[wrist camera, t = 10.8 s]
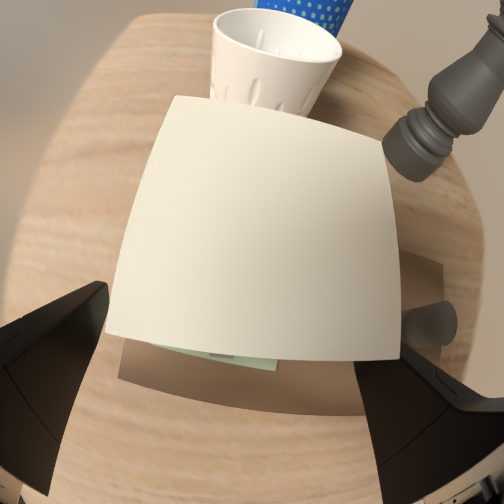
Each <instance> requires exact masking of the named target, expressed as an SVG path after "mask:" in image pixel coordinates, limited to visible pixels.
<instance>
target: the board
mask: <svg viewBox="0 0 504 504" xmlns="http://www.w3.org/2000/svg"><path fill="white" fill-rule="evenodd" d="M398 251H399V264H400V283H401V341H403V342H404V343H405V344H407V345H408V346H410V347H411V348H412V349H414V350H415V351H416V352H418V353H419V354H421V355H422V356H423V357H425V358H426V359H428V360H429V361H430V362H432V363H433V364H434V365H436V366H437V367H439V361H440V352H441V346H445V345H448V344H449V343H451V342H452V340H453V339H454V337H455V334H456V330H457V316H456V312H455V310H454V308H453V306H452V305H451V304H450V303H449V302H447V301H443V265H442V264H439V263H437V262H434V261H431V260H428V259H425V258H422V257H419V256H416V255H413V254H410V253H407V252H404V251H401V250H398ZM118 378H119V379H122V380H125V381H128V382H131V383H134V384H138V385H141V386H144V387H147V388H151V389H154V390H158V391H161V392H165V393H169V394H173V395H177V396H181V397H185V398H189V399H194V400H198V401H203V402H208V403H213V404H218V405H224V406H230V407H236V408H242V409H249V410H257V411H265V412H274V413H285V414H299V415H319V416H362V415H366V414H365V410H364V406H363V402H362V398H361V394H360V390H359V386H358V382H357V379H356V374H355V370H354V364H353V361H305V360H284V359H268V358H255V357H244V356H235V355H234V359H227V358H218V357H210V356H209V352H202V351H195V350H189V349H182V348H176V347H170V346H165V345H159V344H154V343H149V342H144V341H139V340H134V339H129V338H126V339H125V343H124V348H123V353H122V358H121V363H120V368H119V374H118Z"/></svg>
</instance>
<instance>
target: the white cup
mask: <svg viewBox="0 0 504 504" xmlns="http://www.w3.org/2000/svg"><path fill="white" fill-rule="evenodd" d="M342 52H343V51H342V47H341V45H340V43H339V42H338V41H337V39H336V38H335V37H334V36H333V35H331V34H330V33H329V32H328V31H326V30H325V29H323V28H322V27H320V26H318V25H317V24H315V23H313V22H311V21H308V20H306V19H304V18H301V17H298V16H296V15H292V14H289V13H285V12H281V11H276V10H270V9H261V8H243V9H236V10H231V11H227V12H224V13H222V14H220V15H219V16H217V17H216V18H215V20H214V22H213V36H212V54H211V73H210V87H211V89H210V99H215V100H222V101H229V102H235V103H241V104H247V105H252V106H257V107H262V108H267V109H272V110H277V111H281V112H285V113H289V114H294V115H298V116H302V117H305V118H306V117H307V116H308V114H309V112H310V110H311V109H312V107H313V105H314V103H315V102H316V100H317V98H318V96H319V94H320V93H321V91H322V89H323V87H324V85H325V84H326V82H327V80H328V78H329V77H330V75H331V73H332V71H333V70H334V68H335V66H336V64H337V63H338V61H339V59H340V57H341V56H342Z"/></svg>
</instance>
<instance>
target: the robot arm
mask: <svg viewBox="0 0 504 504" xmlns="http://www.w3.org/2000/svg"><path fill="white" fill-rule="evenodd" d="M109 303H110V301H109V291H108V285H107V283H106V282H102V281H94V282H92V283H90V284H88V285H86V286H83V287H81V288H79V289H77V290H75V291H73V292H71V293H69V294H67V295H65V296H63V297H61V298H59V299H57V300H54V301H52V302H50V303H48V304H46V305H44V306H42V307H40V308H38V309H36V310H34V311H32V312H30V313H29V314H27V315H25V316H23V317H22V318H19V319H17V320H15V321H13V322H11V323H9V324H7V325H5V326H3V327H1V328H0V504H25V502H24V500H23V498H22V496H21V494H20V493H21V489H22V485H23V484H25V485H27V486H28V487H30V488H32V489H34V490H36V491H37V492H39V493H41V494H43V495H45V496H47V497H48V494H49V490H50V485H51V480H52V476H53V472H54V467H55V463H56V460H57V456H58V452H59V449H60V444H61V441H62V438H63V434H64V431H65V428H66V425H67V422H68V419H69V416H70V413H71V410H72V407H73V404H74V401H75V398H76V396H77V393H78V390H79V388H80V385H81V382H82V380H83V377H84V375H85V372H86V370H87V367H88V365H89V363H90V360H91V358H92V355H93V353H94V351H95V348H96V346H97V343H98V340H99V337H100V334H101V331H102V328H103V325H104V322H105V319H106V316H107V313H108V309H109ZM353 364H354V370H355V374H356V379H357V382H358V386H359V390H360V394H361V398H362V402H363V406H364V410H365V414H366V418H367V422H368V427H369V431H370V436H371V440H372V445H373V450H374V454H375V459H376V465H377V467H378V468H377V471H378V476H379V482H380V487H381V493H382V500H383V504H413V503H415V502H417V501H419V500H422V499H423V500H424V503H425V504H504V397H503V398H487V397H484V396H481V395H480V394H478V393H476V392H475V391H473V390H472V389H470V388H468V387H467V386H465V385H464V384H462V383H461V382H459V381H457V380H456V379H454V378H453V377H451V376H450V375H448V374H447V373H446V372H444V371H443V370H441V369H440V368H439V367H437V366H436V365H434V364H433V363H432V362H430V361H429V360H428V359H426V358H425V357H423V356H422V355H421V354H419V353H418V352H416V351H415V350H414V349H412V348H411V347H410V346H408V345H407V344H405V343H404V342H403V341H400V359H392V360H371V361H353Z"/></svg>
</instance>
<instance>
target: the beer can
mask: <svg viewBox="0 0 504 504" xmlns="http://www.w3.org/2000/svg"><path fill="white" fill-rule="evenodd" d="M353 1H354V0H255V4H254V8H261V9H270V10H276V11H281V12H285V13H289V14H292V15H296V16H298V17H301V18H304V19H306V20H308V21H311V22H313V23H315V24H317V25H318V26H320V27H322V28H323V29H325V30H326V31H328V32H329V33H330V34H331V35H333V36H334V37H335V38H336V37H337V35H338V32H339V30H340V28H341V26H342V24H343V22H344V20H345V17H346V15H347V13H348V11H349V9H350V7H351V5H352V3H353Z"/></svg>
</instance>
